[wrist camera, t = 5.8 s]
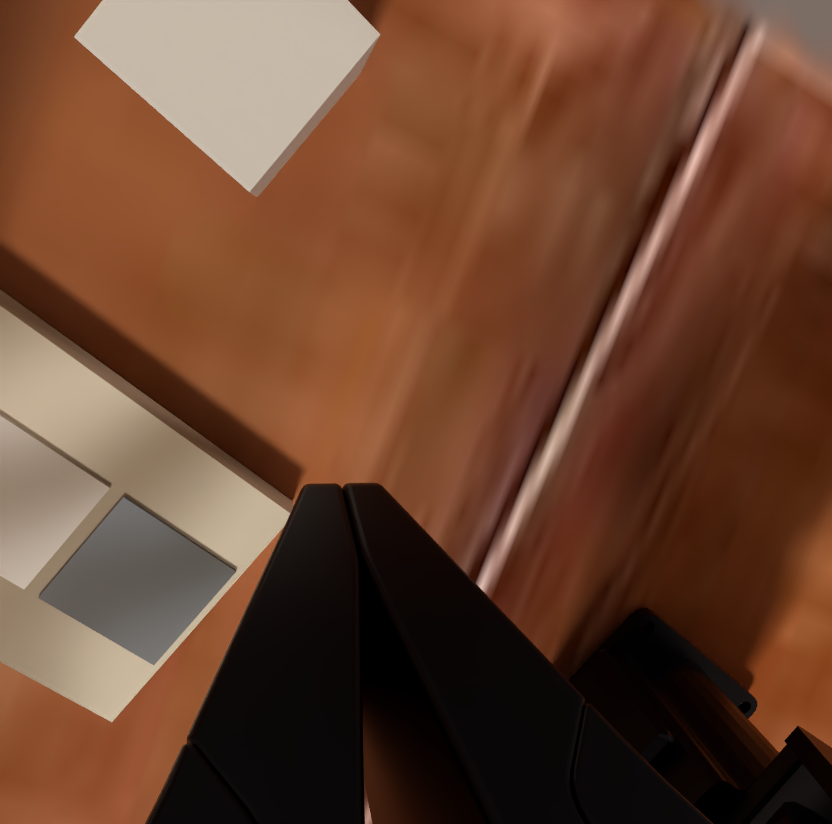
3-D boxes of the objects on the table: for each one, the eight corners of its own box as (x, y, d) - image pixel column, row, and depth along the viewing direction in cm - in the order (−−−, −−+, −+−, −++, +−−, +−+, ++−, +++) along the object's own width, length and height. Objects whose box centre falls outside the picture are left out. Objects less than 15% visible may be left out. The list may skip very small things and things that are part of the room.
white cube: (359, 74, 17) (380, 34, 14) (257, 197, 18) (249, 192, 14) (230, -57, 16) (213, -141, 12) (122, 78, 16) (73, 37, 13)
